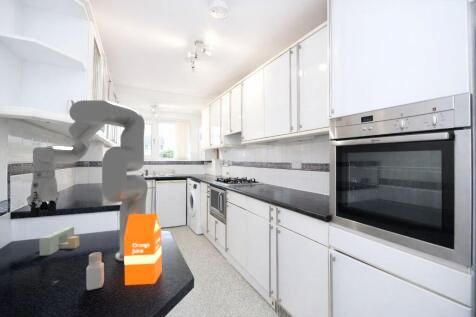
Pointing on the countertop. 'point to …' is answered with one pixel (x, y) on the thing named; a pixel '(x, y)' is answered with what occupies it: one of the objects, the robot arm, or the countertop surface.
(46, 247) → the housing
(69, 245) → the plug
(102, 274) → the salt shaker
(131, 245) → the orange juice
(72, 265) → the countertop surface
